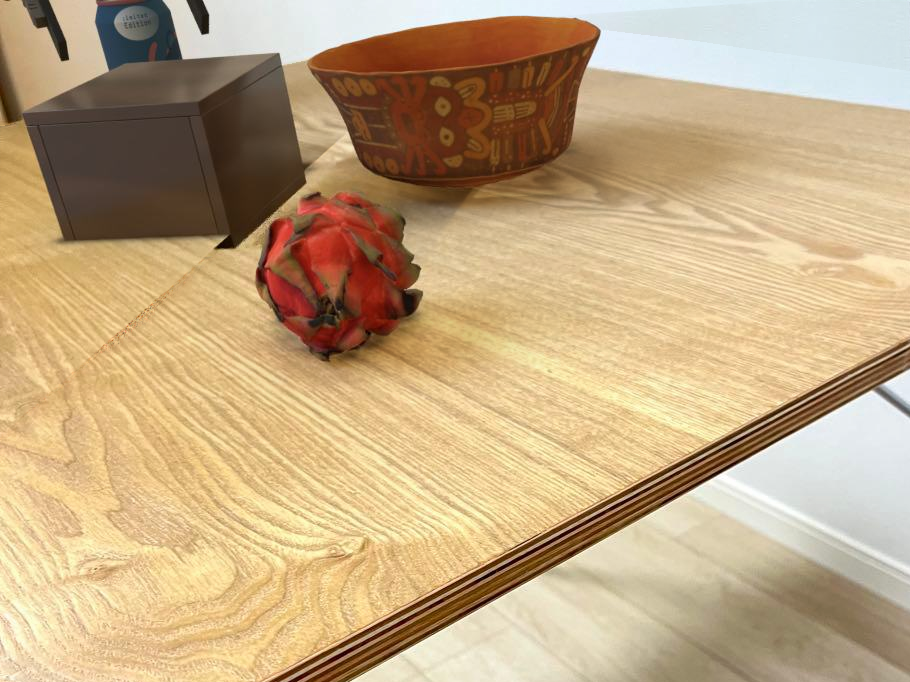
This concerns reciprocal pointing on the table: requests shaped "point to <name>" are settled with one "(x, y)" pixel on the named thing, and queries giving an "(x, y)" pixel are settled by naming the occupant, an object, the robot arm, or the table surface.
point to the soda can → (136, 32)
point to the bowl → (460, 97)
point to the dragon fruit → (338, 271)
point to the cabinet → (170, 149)
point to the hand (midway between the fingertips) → (136, 38)
